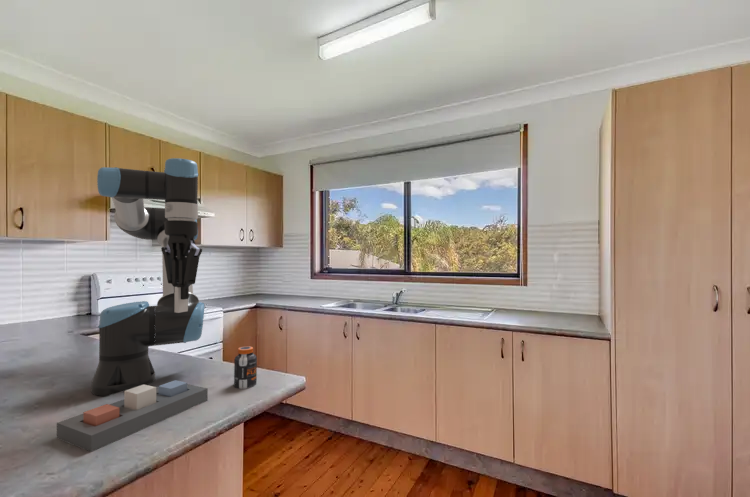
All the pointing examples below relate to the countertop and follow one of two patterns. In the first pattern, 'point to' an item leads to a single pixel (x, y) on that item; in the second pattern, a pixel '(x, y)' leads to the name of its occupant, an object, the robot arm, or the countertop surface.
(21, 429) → the countertop surface
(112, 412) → the key red
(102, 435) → the frame
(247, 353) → the pill bottle
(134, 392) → the key white
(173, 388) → the key blue
